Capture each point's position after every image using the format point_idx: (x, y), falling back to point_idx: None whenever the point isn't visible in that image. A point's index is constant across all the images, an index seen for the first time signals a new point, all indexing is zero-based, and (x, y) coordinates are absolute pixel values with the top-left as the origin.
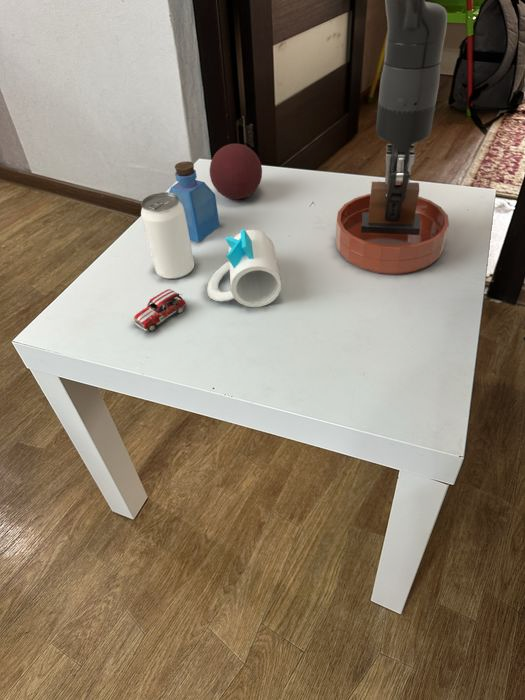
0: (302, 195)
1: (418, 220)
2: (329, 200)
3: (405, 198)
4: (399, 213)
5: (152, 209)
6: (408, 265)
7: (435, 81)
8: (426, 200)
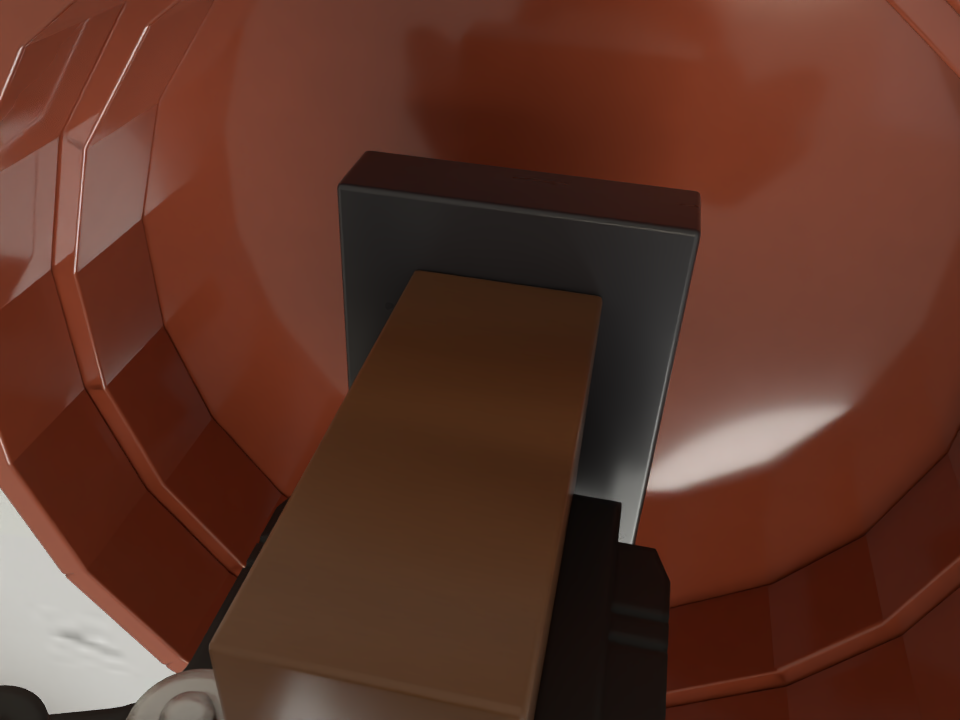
0: (8, 662)
1: (494, 220)
2: (8, 561)
3: (537, 693)
4: (613, 573)
5: None
6: None
7: None
8: (3, 60)
